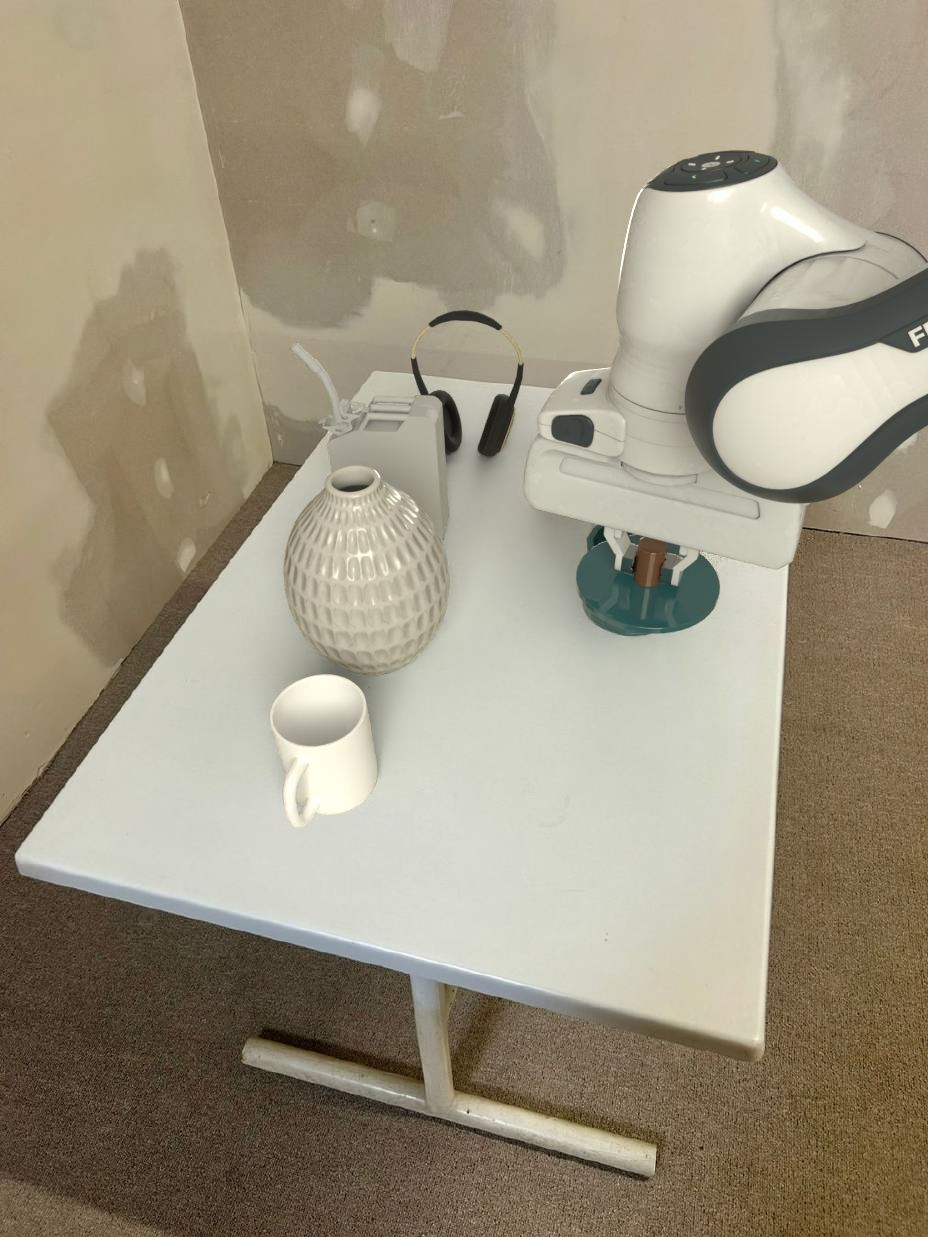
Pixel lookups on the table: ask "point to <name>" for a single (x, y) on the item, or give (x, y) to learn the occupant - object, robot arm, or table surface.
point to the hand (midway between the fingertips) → (647, 573)
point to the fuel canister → (391, 442)
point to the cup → (323, 746)
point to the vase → (366, 573)
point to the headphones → (501, 406)
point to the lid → (646, 589)
